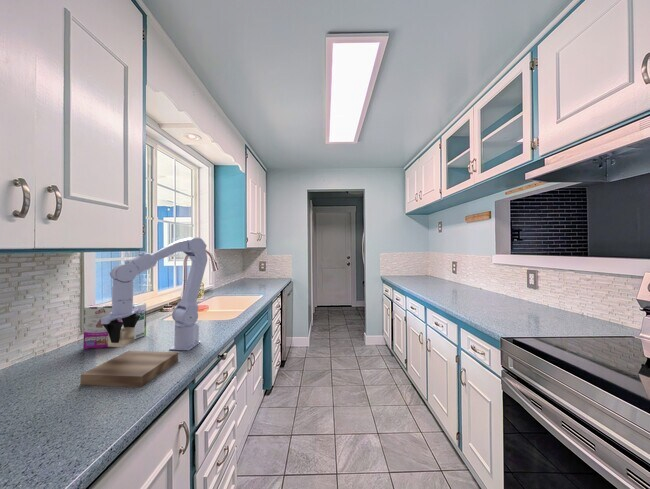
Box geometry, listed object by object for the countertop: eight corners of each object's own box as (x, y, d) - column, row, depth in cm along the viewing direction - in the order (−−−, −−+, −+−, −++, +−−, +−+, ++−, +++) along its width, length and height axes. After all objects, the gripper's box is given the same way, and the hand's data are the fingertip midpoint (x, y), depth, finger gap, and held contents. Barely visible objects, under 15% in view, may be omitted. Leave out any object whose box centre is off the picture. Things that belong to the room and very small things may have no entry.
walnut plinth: (128, 359, 96) (128, 350, 96) (177, 360, 95) (178, 352, 95) (80, 384, 78) (80, 374, 78) (141, 387, 77) (141, 376, 77)
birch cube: (120, 341, 94) (120, 327, 94) (133, 341, 94) (134, 327, 94) (107, 346, 89) (108, 331, 89) (122, 347, 89) (122, 332, 89)
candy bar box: (122, 343, 111) (123, 303, 112) (116, 347, 107) (117, 306, 107) (89, 345, 109) (91, 304, 109) (82, 350, 104) (83, 307, 104)
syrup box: (135, 339, 116) (135, 305, 116) (123, 338, 117) (124, 304, 117) (146, 335, 122) (147, 303, 122) (135, 334, 123) (136, 302, 123)
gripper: (128, 295, 99) (127, 332, 99) (92, 303, 85) (91, 347, 85) (146, 295, 99) (145, 333, 99) (113, 304, 84) (112, 347, 84)
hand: (121, 339), depth 92 cm, fingers closed on birch cube, 5 cm apart
